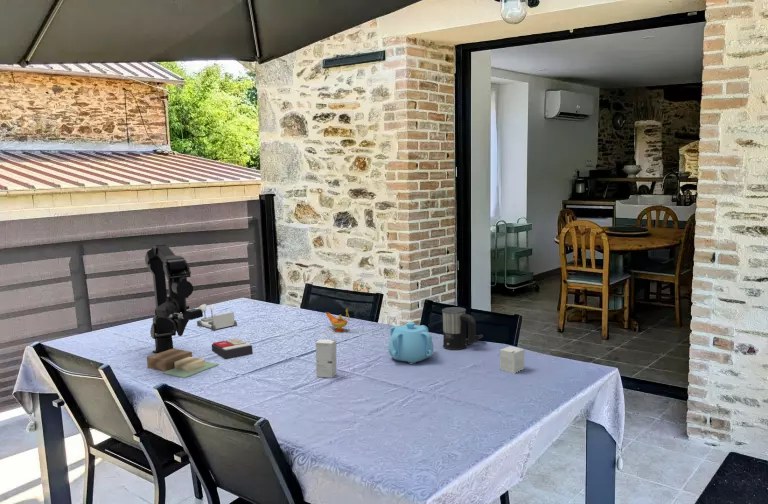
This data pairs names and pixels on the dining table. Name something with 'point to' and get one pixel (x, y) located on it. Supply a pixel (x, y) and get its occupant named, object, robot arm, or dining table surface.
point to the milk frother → (458, 328)
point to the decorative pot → (410, 343)
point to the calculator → (232, 348)
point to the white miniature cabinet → (326, 358)
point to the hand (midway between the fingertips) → (180, 335)
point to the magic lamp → (338, 321)
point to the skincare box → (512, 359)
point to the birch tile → (189, 364)
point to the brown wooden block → (166, 359)
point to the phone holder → (216, 319)
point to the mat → (189, 373)
